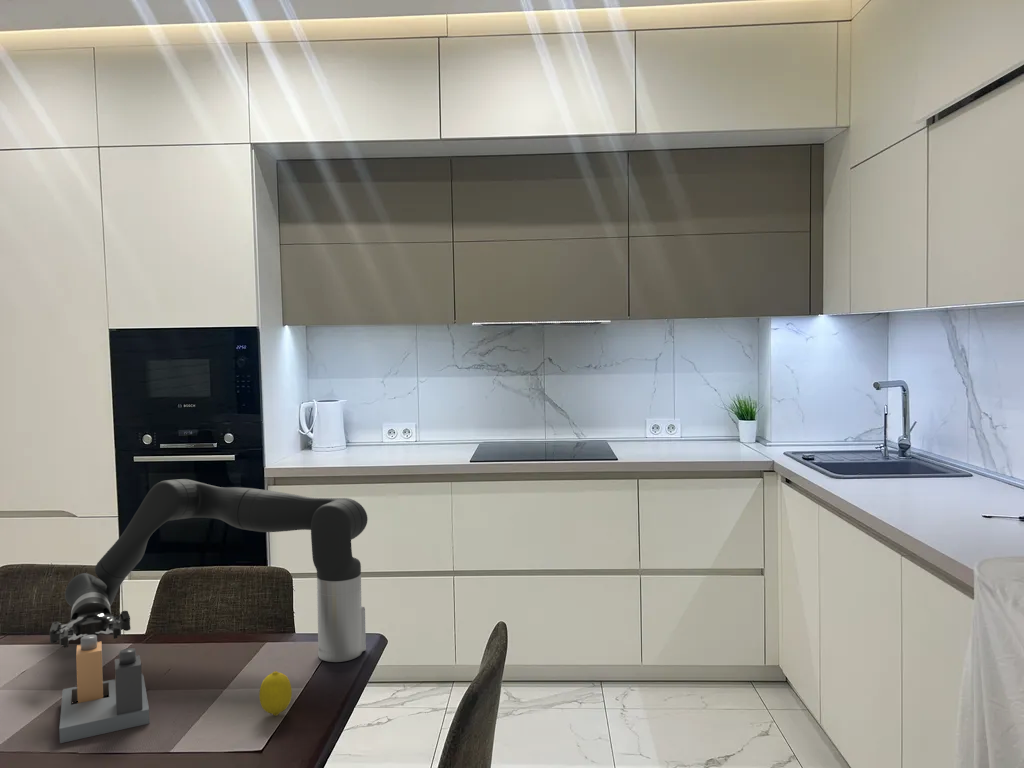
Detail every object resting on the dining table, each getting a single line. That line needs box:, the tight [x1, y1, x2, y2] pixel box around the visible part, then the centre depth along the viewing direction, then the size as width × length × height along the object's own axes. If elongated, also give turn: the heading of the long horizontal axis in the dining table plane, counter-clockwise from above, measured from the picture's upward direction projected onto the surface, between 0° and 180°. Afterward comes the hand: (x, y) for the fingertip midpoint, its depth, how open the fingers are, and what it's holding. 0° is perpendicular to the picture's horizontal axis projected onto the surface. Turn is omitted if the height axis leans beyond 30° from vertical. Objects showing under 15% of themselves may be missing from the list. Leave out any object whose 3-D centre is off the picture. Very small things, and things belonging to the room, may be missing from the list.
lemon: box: [258, 670, 293, 717], centre depth 134 cm, size 6×6×8 cm
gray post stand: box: [58, 647, 150, 744], centre depth 135 cm, size 14×17×12 cm
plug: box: [75, 635, 104, 703], centre depth 138 cm, size 4×5×13 cm
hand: (91, 637), depth 147 cm, fingers open, 8 cm apart
